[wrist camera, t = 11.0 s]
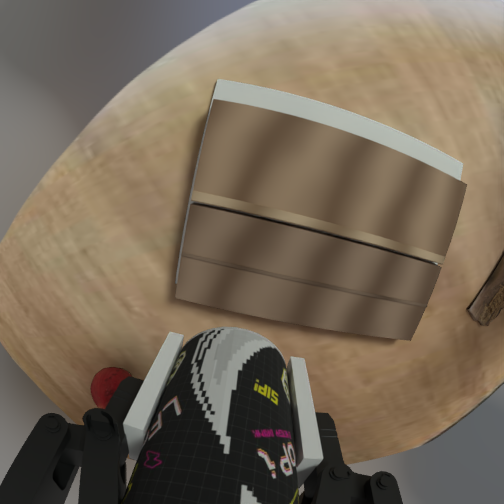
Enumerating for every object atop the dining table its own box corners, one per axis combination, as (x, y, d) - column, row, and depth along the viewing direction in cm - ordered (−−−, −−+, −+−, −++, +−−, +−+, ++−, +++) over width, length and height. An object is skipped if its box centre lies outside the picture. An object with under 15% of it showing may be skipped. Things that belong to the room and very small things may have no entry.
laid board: (434, 263, 27) (442, 267, 25) (405, 334, 29) (410, 341, 27) (193, 202, 25) (189, 204, 24) (178, 291, 28) (174, 298, 26)
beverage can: (206, 299, 14) (112, 555, 2) (305, 346, 14) (349, 577, 3) (168, 374, 15) (98, 557, 4) (254, 410, 16) (246, 590, 4)
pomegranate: (122, 347, 30) (94, 389, 23) (154, 380, 31) (135, 425, 24) (97, 364, 31) (71, 402, 24) (128, 393, 32) (107, 434, 25)
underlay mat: (461, 163, 24) (463, 163, 24) (409, 327, 29) (411, 328, 29) (218, 79, 22) (217, 78, 22) (175, 282, 28) (175, 283, 27)
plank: (459, 182, 24) (467, 184, 22) (435, 260, 26) (442, 264, 25) (215, 101, 22) (213, 98, 21) (194, 198, 25) (190, 200, 24)
